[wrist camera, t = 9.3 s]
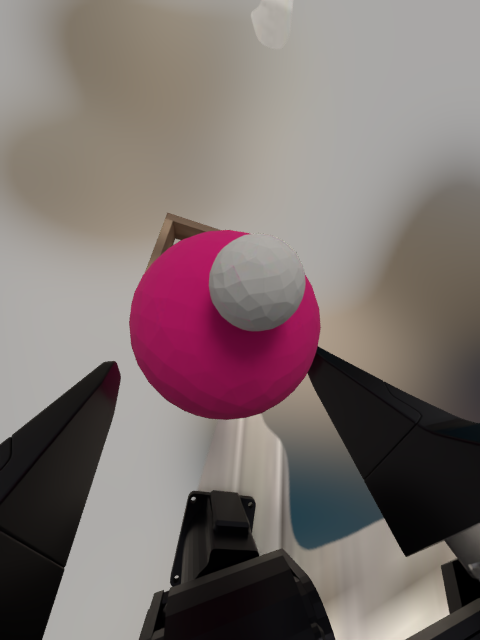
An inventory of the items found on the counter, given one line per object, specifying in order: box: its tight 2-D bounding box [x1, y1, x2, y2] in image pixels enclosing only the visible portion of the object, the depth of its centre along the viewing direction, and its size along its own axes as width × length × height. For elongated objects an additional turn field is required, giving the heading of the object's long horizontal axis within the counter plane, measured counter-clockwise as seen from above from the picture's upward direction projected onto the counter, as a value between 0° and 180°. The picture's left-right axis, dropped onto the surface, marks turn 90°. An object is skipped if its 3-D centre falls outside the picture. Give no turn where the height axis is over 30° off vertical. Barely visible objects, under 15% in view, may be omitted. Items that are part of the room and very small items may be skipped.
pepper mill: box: [129, 230, 320, 420], centre depth 12 cm, size 7×7×20 cm
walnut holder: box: [145, 213, 221, 272], centre depth 23 cm, size 9×10×3 cm
